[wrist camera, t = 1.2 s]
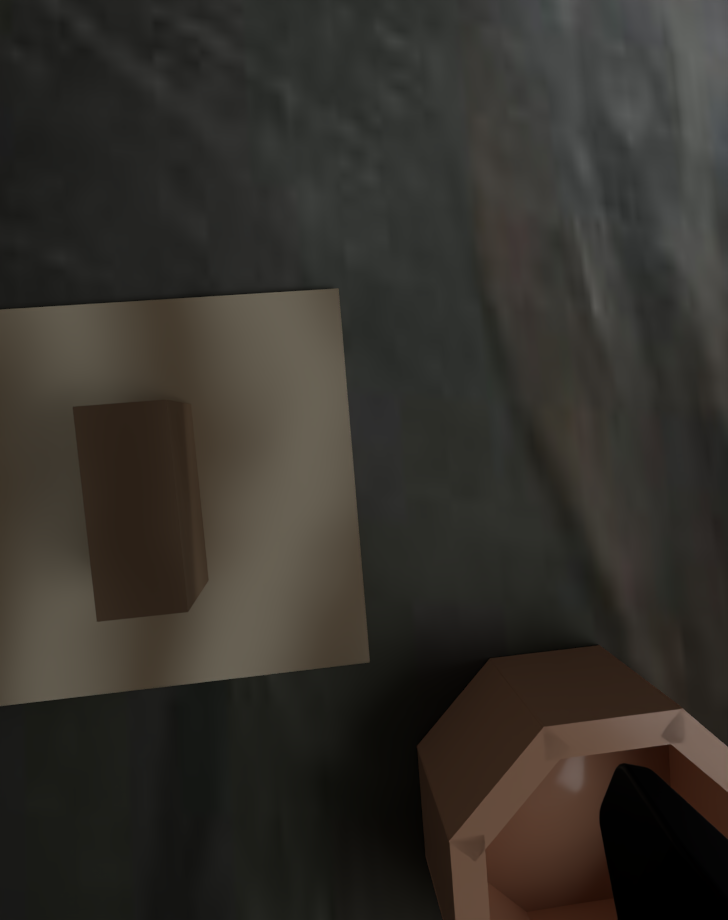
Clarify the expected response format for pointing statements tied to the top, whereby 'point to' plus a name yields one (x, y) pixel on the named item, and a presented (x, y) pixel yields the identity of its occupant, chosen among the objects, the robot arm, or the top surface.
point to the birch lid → (175, 494)
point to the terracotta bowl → (549, 781)
